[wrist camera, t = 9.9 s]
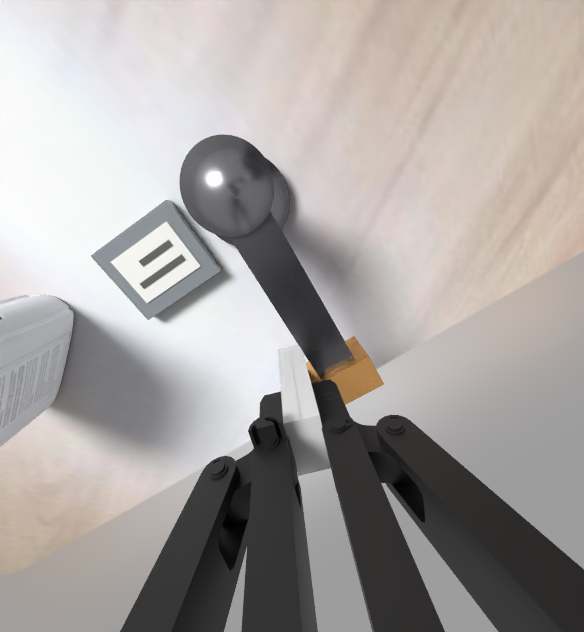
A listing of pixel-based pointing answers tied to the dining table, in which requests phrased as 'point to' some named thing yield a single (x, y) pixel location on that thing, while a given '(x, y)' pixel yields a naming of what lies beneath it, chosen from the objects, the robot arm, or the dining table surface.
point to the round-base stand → (275, 200)
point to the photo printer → (31, 358)
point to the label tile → (157, 260)
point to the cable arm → (270, 255)
